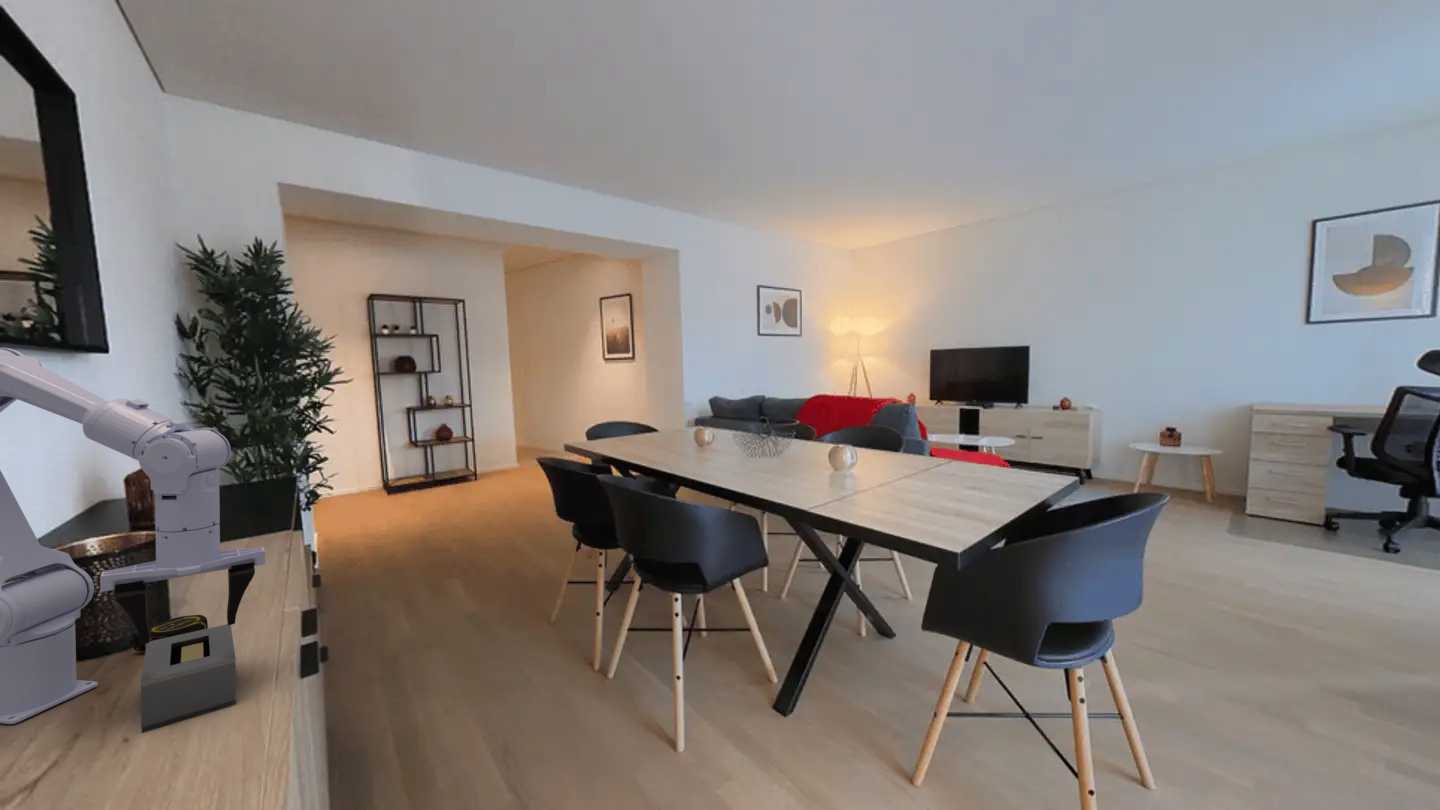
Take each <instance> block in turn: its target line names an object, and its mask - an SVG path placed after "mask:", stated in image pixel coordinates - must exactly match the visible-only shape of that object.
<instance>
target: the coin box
mask: <svg viewBox="0 0 1440 810" xmlns="http://www.w3.org/2000/svg"><path fill="white" fill-rule="evenodd" d="M202 642H203V658H199V659H195V660H191V661H187V662H183V663H181V650H182V647H185V646H189V645H193V644H198V643H202ZM235 651H236V650H235V645H234V639H233V632H232V625H228V623H227V624H223V625H218V626H214V627H213V626H212V627H208V629H204V630H199V631H195V632H190V633H186V634H181V635H177V636H172V637H167V638H163V639H158V640H154V641H149V643H147V645H146V651H144V659H143V667H142V673H141V678H140V697H141V698H140V703H141V704H140V706H141V709H140V710H141V713H140V715H141V733H144V731H145V732H149V731H151V730H155V729H159V728H161V727H164V726H168V725H171V724H175V723H177V722H182V721H185V720H188V719H191V718H195V717H197V716H201V715H204V714H208V713H211V712H214V711H218V710H220V709H224V708H228V707H230V706H235V705H236V704H237V681H236V680H237V675H236V674H237V672H236V671H237V667H236V662H237V661H236V659H237V658H236V652H235ZM148 730H149V731H148Z"/></svg>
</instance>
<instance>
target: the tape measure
mask: <svg viewBox="0 0 1440 810" xmlns="http://www.w3.org/2000/svg"><path fill="white" fill-rule="evenodd" d="M208 628H209V625H208V619H207V617H206V616H205V615H202V614H191V615H184V616H177V617H174V618H171V619H167V620H165V621H162V622H159V623H157V624H155V625H151V626H150V641H154V640H158V639H163V638H167V637H172V636H177V635H181V634H186V633H190V632H195V631H199V630H204V629H208ZM146 645H147V643H146V644H141V642H140V637H139V634H138V631H137V632H135V633H133V635H132V637H131V639H129V646H130V647H132V648H133V649H134V651H135V652H145V651H146Z"/></svg>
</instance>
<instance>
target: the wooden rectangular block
mask: <svg viewBox="0 0 1440 810" xmlns="http://www.w3.org/2000/svg"><path fill="white" fill-rule="evenodd" d="M199 658H203V642H202V643H198V644H193V645H189V646H185V647H182V650H181V663H183V662H187V661H191V660H195V659H199Z"/></svg>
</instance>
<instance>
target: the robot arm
mask: <svg viewBox="0 0 1440 810" xmlns="http://www.w3.org/2000/svg"><path fill="white" fill-rule="evenodd" d="M17 400H18V401H21V402H23V403H26V404H28V405H31V406H34V407H36V408H39V409H42V410H44V411H47V412H50V413H53V414H55V415H58V416H60V417H63V418H65V419H68V420H69V421H73V422H75V423H78V424H82V431H83V434H84V436H85V437H86V438H87V439H89V440H90V441H93V442H96V444H97V443H98V444H99V445H102V446H104V447H106V448H109V449H111V450H113V451H116V452H118V453H120V454H122V455H125V456H127V457H129V458H131V459H134V460H136V461H138V463H139V466H140V469H141V470H142V471H143V473H145V475H146V476H147V477H148V479H149V480H150V490H152V491H153V494H154V505H155V506H154V508H155V509H154V512H155V513H154V514H155V515H154V517H155V560H153V561H147V562H143V563H138V564H134V565H129V566H124V567H120V568H118V567H117V568H114V569H109V570H108V569H107V570H103V571H101V574H100V576H99V581H100V592H101V593H103V592H107V591H108V592H109V591H113V590H114V596H113V597H114V599H115V601H116V602H117V604H118V605H119V606H120V607H121V608H122V609H123V610H124V612H126V614H127V615H128V616H129V618H130V619H131V620H130V621H132V623H133V624H134V626H135V628H136V631H137V632H138V634H139V637H140V642H141V644H146V643H149V641H150V627H151V623H150V618H149V609H148V599H149V598H148V597H149V596H148V590H149V589H148V588H149V587H148V583H151V582H157V581H164V580H170V579H177V578H182V577H188V576H194V575H200V574H205V573H212V572H218V571H225V570H227V576H228V577H227V578H228V580H227V581H228V583H227V584H228V597H227V605H226V606H227V608H226V622H227V624H228V625H231V626H232V625H235V624H236V618H237V613H238V610H239V606H240V604H241V601H242V599H243V597H244V594H245V592H246V590H247V588H248V587H249V585H250V583H251V581H252V580H253V578H254V575H255V573H256V567H257V566H263V565H265V564H266V550H265V547H264V546H260V547H259V546H258V547H253V548H251V547H250V548H241V549H240V548H239V549H230V550H229V549H228V550H227V549H226V550H221V535H220V533H221V531H220V530H221V527H220V520H221V519H220V518H221V517H220V514H221V513H220V512H221V511H220V509H221V507H220V506H221V505H220V469H222V468H224V467H225V466H226V465H227V463H228V462H229V460H230V458H231V454H232V448H231V445H230V442H229V440H228V439H227V438H226V437H225V436H224V435H223V434H222V433H220V432H218V431H217V430H216V429H215V428H212V427H199V428H198V427H197V428H191V427H189V426H187V422H186V421H184V420H181V419H179V418H178V419H172V418H170V417H167V416H165V415H163V414H161V413H158V412H156V411H154V410H152V409H150V408H148V407H149V405H150V404H149V403H148V402H146V401H143V400H142V399H127V398H121V399H120V398H119V399H113V400H110V401H108V400H106V399H104V398H102V397H100V396H98V395H97V394H95V393H93V392H91V391H89V390H87V389H85V388H84V387H81V386H80V385H77V384H76V383H74V382H72V381H70V380H68V379H66V378H64V377H62V376H61V375H58V374H57V373H55V372H53V371H51V370H49V369H47V368H46V367H43V366H42V363H41V361H40V359H38V358H36V357H32V356H28V355H25V354H23V353H22V352H20V351H18V350H15V349H13V348H8V347H0V413H1V412H3V411H4V410H6V409H7V408H8V407H10V405H12V404H13V403H14V402H16V401H17ZM9 485H10V484H8V481H7V480H6V478H5V476H4V474H3V472H2V471H1V469H0V724H5V725H7V724H8V725H13V724H14V725H15V724H17V723H19V722H22V721H24V720H25V719H28V718H30V717H33V716H35V715H37V714H39V713H42V712H43V711H45V710H48V709H50V708H53V707H54V706H57V705H59V704H60V703H63V702H65V701H68V700H70V699H72V698H74V697H76V696H79V695H81V694H83V693H85V692H87V691H90V690H92V689H94V688H96V687H97V686H99V682H98V681H92V680H82V679H77V653H76V652H77V651H76V649H77V648H76V646H77V645H76V620H77V619H79V618H81V609H83V608H85V607H86V606H87V605H88V604H89V603H90V602H91V600H92V599H93V597H94V592H95V586H94V585H95V584H94V583H93V582H94V581H93V579H92V577H91V576H90V575H89V574H88V572H86V571H85V570H84V569H82V568H81V567H79V566H78V565H77V564H76V563H75V562H74V561H73V559H72V557H71V555H70V554H69V553H68V552H65V551H61V550H57V549H53V548H49V547H46V546H42V545H41V544H40V542H39V540H38V538H37V535H35V532H34V531H33V529H32V527H31V525H30V523H29V521H28V519H27V518H26V516H25V515H26V514H25V513H24V512H23V510H22V508H21V506H20V505H19V502H18V500H17V499H16V496H15V495H14V493H13V491H12V489H11V487H10V486H9ZM255 566H256V567H255ZM19 577H21V579H19V580H15V581H12V582H8V583H6V584H4V583H5V582H6V581H8V580H12V579H15V578H19ZM22 577H24V578H22Z"/></svg>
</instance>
